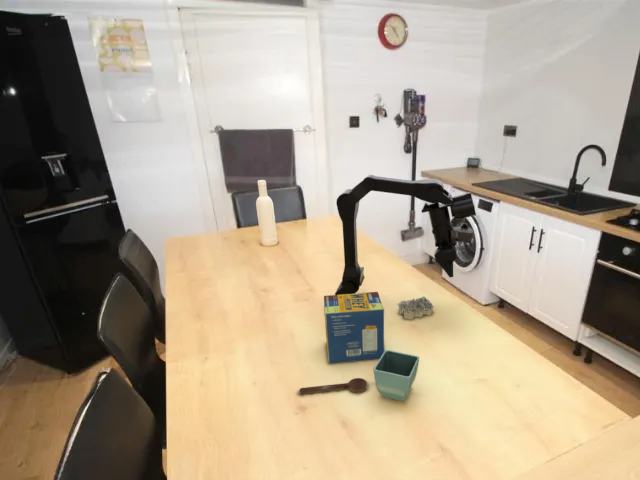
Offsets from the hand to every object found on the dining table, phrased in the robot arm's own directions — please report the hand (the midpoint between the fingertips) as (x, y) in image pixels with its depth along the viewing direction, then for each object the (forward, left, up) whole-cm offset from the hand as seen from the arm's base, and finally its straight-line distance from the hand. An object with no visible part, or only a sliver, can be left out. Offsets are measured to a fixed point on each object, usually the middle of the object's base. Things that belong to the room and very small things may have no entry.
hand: (451, 271), depth 126 cm
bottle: (-105, -3, -16) cm, 107 cm away
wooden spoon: (+3, -48, -16) cm, 51 cm away
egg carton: (-9, -5, -16) cm, 20 cm away
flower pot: (+14, -39, -16) cm, 45 cm away
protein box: (-7, -34, -16) cm, 39 cm away
